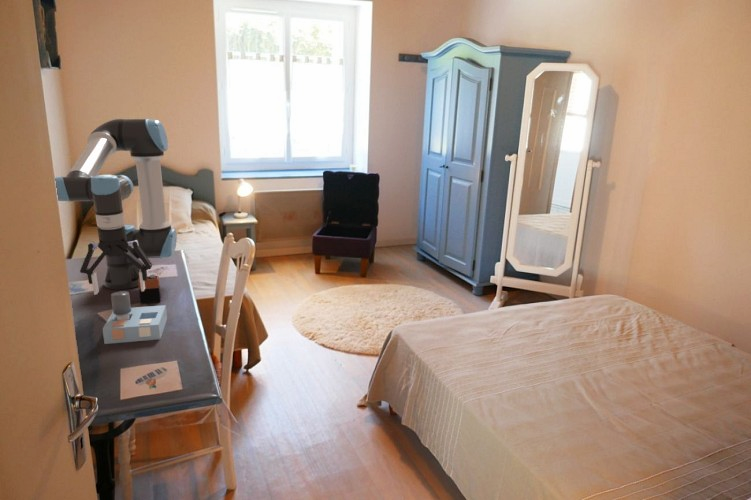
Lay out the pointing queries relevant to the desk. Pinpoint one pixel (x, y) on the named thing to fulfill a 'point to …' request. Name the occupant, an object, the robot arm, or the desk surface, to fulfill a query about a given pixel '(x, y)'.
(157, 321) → the socket board
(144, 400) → the desk surface
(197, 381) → the desk surface
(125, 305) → the grey piece
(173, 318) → the desk surface
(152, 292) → the battery
